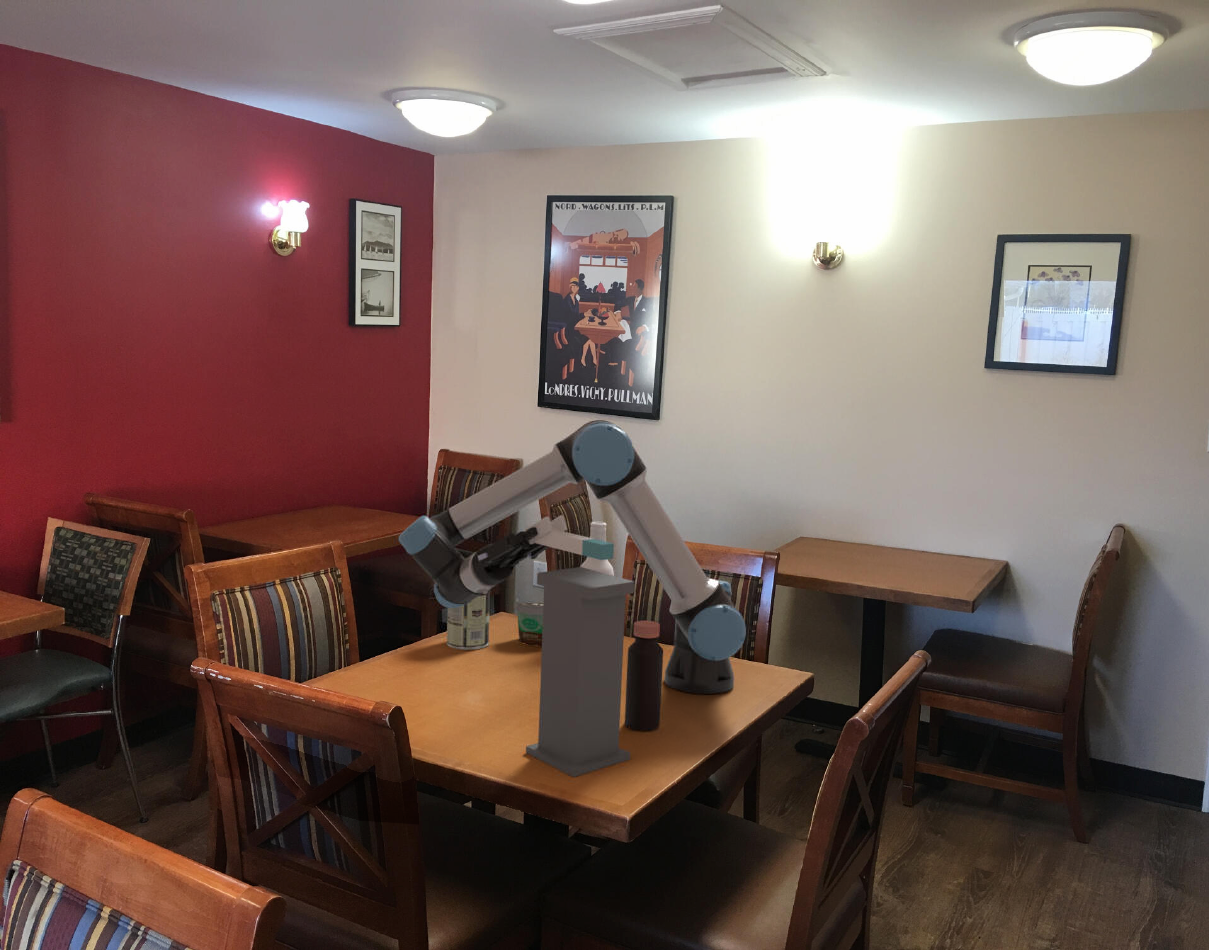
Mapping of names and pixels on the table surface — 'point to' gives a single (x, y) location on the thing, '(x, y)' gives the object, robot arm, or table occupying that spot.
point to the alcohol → (595, 564)
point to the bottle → (644, 678)
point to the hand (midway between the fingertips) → (556, 523)
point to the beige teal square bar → (577, 544)
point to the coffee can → (469, 624)
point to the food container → (530, 622)
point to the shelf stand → (581, 670)
